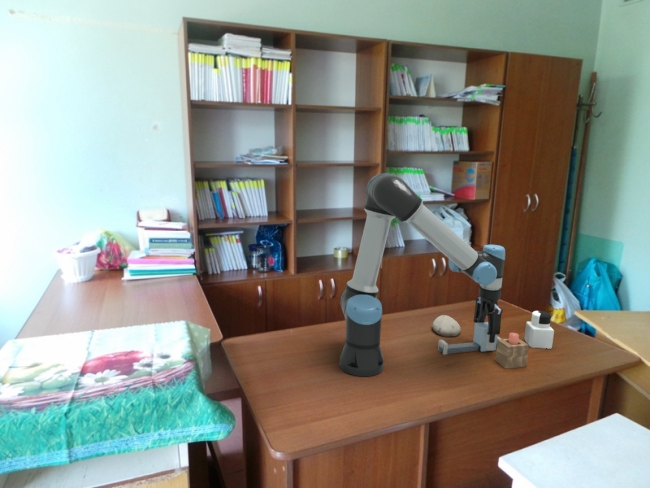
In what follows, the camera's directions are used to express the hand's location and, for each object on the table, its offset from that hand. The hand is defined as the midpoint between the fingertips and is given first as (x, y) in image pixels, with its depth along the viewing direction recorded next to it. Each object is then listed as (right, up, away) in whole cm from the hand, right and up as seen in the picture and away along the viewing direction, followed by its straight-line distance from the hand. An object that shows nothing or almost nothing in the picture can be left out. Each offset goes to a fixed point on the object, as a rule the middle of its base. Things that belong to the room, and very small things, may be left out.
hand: (484, 346), depth 168 cm
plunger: (+5, -1, -12) cm, 13 cm away
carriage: (0, -1, 0) cm, 1 cm away
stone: (-10, +2, +16) cm, 19 cm away
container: (+22, -1, +5) cm, 23 cm away
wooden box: (+5, -3, -12) cm, 13 cm away
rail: (-6, -1, -1) cm, 6 cm away
